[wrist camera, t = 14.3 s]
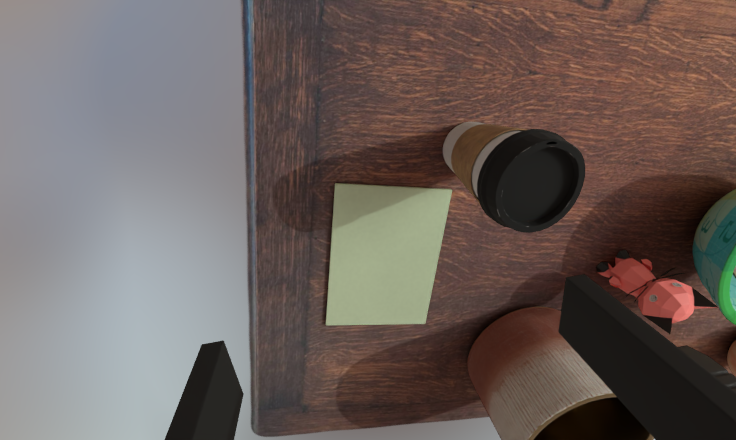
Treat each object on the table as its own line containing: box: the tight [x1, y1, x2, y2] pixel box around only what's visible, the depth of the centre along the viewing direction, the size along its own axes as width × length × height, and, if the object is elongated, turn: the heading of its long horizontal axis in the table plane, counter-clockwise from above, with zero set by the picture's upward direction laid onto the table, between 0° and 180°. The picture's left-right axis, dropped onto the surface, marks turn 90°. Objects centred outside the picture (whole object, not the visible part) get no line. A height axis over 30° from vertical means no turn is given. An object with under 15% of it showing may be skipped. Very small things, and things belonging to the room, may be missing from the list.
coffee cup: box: [443, 122, 585, 232], centre depth 34 cm, size 8×8×15 cm
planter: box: [467, 307, 654, 440], centre depth 49 cm, size 18×18×16 cm
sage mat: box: [326, 183, 452, 325], centre depth 46 cm, size 20×14×1 cm
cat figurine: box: [597, 250, 719, 334], centre depth 46 cm, size 7×7×12 cm
